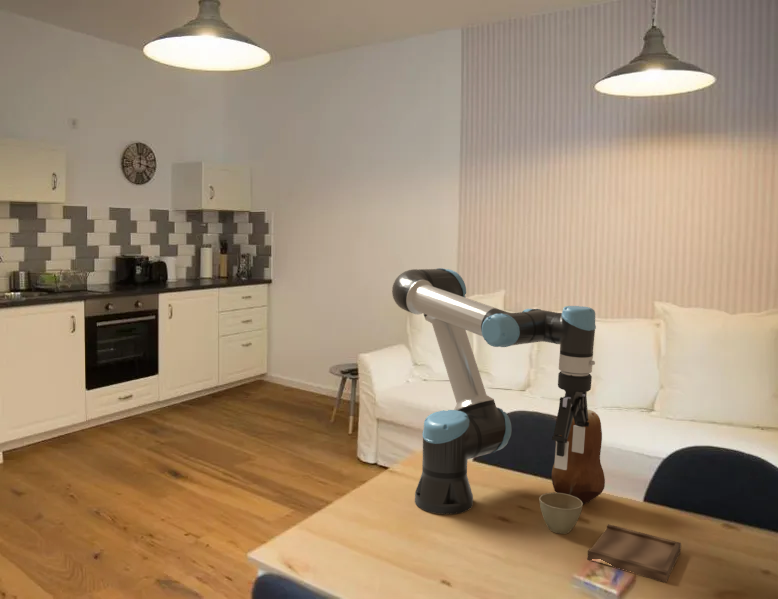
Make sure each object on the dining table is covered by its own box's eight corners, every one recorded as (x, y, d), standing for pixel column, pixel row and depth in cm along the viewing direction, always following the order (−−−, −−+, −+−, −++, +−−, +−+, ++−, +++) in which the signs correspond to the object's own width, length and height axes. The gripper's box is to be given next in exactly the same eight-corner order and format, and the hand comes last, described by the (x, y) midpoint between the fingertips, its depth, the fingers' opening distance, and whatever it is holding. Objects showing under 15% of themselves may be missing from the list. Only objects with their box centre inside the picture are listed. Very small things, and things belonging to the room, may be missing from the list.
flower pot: (583, 541, 149) (584, 511, 148) (538, 536, 151) (540, 506, 150) (579, 522, 159) (580, 494, 158) (537, 518, 161) (538, 490, 160)
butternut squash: (575, 487, 181) (579, 400, 179) (614, 505, 170) (619, 412, 167) (539, 497, 174) (543, 406, 171) (577, 516, 162) (581, 418, 160)
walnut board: (587, 559, 140) (587, 550, 140) (607, 532, 153) (608, 524, 153) (666, 582, 131) (666, 572, 131) (680, 551, 145) (680, 542, 144)
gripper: (575, 385, 139) (569, 480, 141) (604, 366, 160) (599, 449, 162) (541, 379, 143) (536, 472, 145) (574, 361, 164) (569, 442, 166)
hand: (569, 460), depth 154 cm, fingers open, 13 cm apart
